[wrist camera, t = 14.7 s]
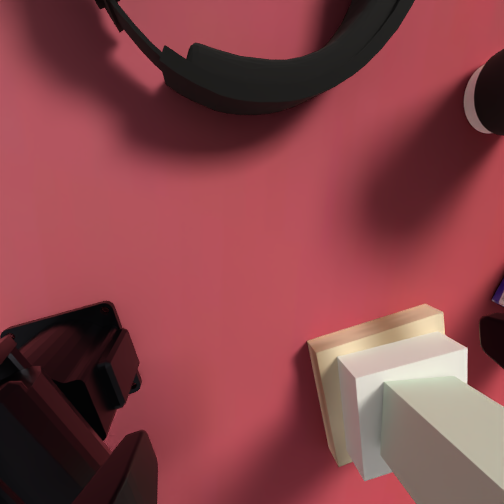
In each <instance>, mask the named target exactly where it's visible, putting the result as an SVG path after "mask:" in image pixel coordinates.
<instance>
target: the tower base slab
mask: <svg viewBox="0 0 504 504" xmlns="http://www.w3.org/2000/svg"><path fill="white" fill-rule="evenodd" d="M436 331H438V332H440V333H442V334H444V335H445V329H444V317H443V312H442V311H440V310H438V309H435V308H433V307H431V306H429V305H427V304H423V305H420V306H416V307H413V308H410V309H407V310H404V311H400V312H397V313H394V314H391V315H388V316H385V317H381V318H378V319H375V320H372V321H369V322H365V323H362V324H359V325H356V326H353V327H349V328H346V329H343V330H340V331H337V332H334V333H330V334H327V335H324V336H321V337H318V338H314V339H311V340H308V341H307V344H308V348H309V353H310V358H311V363H312V368H313V373H314V378H315V383H316V388H317V393H318V398H319V402H320V407H321V412H322V417H323V422H324V427H325V432H326V437H327V442H328V447H329V449H330V451H331V453H332V455H333V457H334V459H335V461H336V463H337V465H338V467H340V466H343V465H345V464H348V463H351V462H353V461H352V459H351V457H350V456H349V454H348V452H347V451H346V442H345V432H344V422H343V412H342V402H341V392H340V382H339V372H338V362H337V357H338V356H342V355H346V354H350V353H354V352H358V351H362V350H365V349H369V348H373V347H377V346H381V345H385V344H389V343H393V342H397V341H401V340H405V339H408V338H412V337H416V336H420V335H424V334H428V333H432V332H436Z"/></svg>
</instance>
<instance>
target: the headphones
mask: <svg viewBox="0 0 504 504" xmlns="http://www.w3.org/2000/svg"><path fill="white" fill-rule="evenodd" d="M95 1H96V3H97V5H98V7H99V9H102V8H105V9H106V10H107V12H108V14H109V15H110V17H111V19H112V20H113V22H114V24H115V25H116V27H117V29H118V30H119V32H121V31H123V30H125V31H126V33H127V34H128V35H129V36H130V38H131V39H132V40H133V41H134V42H135V44H136V45H137V46H138V47H139V49H140V50H141V51H142V52H143V53H144V54H145V55H146V56H147V57H148V58H149V59H150V60H151V61H152V62H153V63H154V65H156V66H157V67H158V68H159V69H160V70H161V71H162V72H163V76H164V80H165V84H166V85H167V86H169V87H170V88H172V89H173V90H175V91H176V92H178V93H179V94H181V95H183V96H185V97H186V98H188V99H190V100H192V101H194V102H196V103H199V104H201V105H203V106H206V107H208V108H210V109H213V110H216V111H220V112H224V113H229V114H237V115H259V114H269V113H275V112H279V111H282V110H285V109H288V108H291V107H294V106H296V105H298V104H301V103H303V102H305V101H307V100H309V99H311V98H313V97H315V96H317V95H319V94H321V93H323V92H325V91H327V90H329V89H331V88H333V87H335V86H337V85H338V84H340V83H341V82H343V81H345V80H346V79H348V78H349V77H351V76H352V75H354V74H355V73H356V72H358V71H359V70H360V69H361V68H362V67H364V66H365V65H366V64H367V63H368V62H369V61H370V60H371V59H372V58H373V57H374V56H375V55H376V54H377V53H378V52H379V51H380V50H381V49H382V48H383V46H384V45H385V44H386V43H387V41H388V40H389V39H390V38H391V36H392V35H393V34H394V33H395V32H396V30H397V29H398V28H399V26H400V24H401V23H402V21H403V19H404V18H405V16H406V15H407V13H408V11H409V10H410V8H411V6H412V5H413V3H414V0H352V2H351V5H350V7H349V9H348V11H347V13H346V15H345V18H344V20H343V22H342V24H341V25H340V27H339V28H338V30H337V31H336V33H335V34H334V36H333V37H332V39H331V40H330V41H329V42H328V43H327V44H326V46H325V47H323V48H322V49H320V50H318V51H316V52H313V53H311V54H308V55H305V56H303V57H298V58H293V59H288V60H269V59H261V58H253V57H244V56H238V55H235V54H231V53H228V52H224V51H221V50H217V49H214V48H211V47H208V46H205V45H203V44H200V43H194V44H193V45H191V47H190V48H189V51H188V55H187V58H186V59H185V58H183V57H182V56H180V55H179V54H177V53H176V52H174V51H173V50H171V49H170V48H169V47H167V46H166V45H165V46H164V48H163V51H162V52H161V51H160V50H159V49H158V48H157V47H156V46H155V45H153V44H152V43H151V42H150V41H149V40H148V38H147V37H146V36H145V35H144V34H143V33H142V32H141V31H140V30H139V29H138V27H137V26H136V25H135V24H134V23H133V22H132V21H131V19H130V18H129V17H128V16H127V14H126V13H125V12H124V11H123V10H122V8H121V7H120V6H119V5H118V3H117V2H118V1H120V0H95Z"/></svg>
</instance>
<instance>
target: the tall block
mask: <svg viewBox="0 0 504 504" xmlns="http://www.w3.org/2000/svg"><path fill="white" fill-rule="evenodd" d="M380 455H381V457H382V458H383V459H384V461H385V462H386V463H387V465H388V466H389V467H390V469H391V470H392V472H393V473H394V474H395V476H396V477H397V478H398V480H399V481H400V482H401V484H402V485H403V486H404V488H405V489H406V490H407V492H408V493H409V494H410V496H411V497H412V499H413V500H414V501H415V503H416V504H504V407H503V406H501V405H500V404H498V403H497V402H495V401H493V400H492V399H490V398H489V397H487V396H485V395H484V394H482V393H481V392H479V391H477V390H476V389H474V388H473V387H471V386H469V385H468V384H466V383H465V382H463V381H461V380H460V379H458V378H457V377H455V376H447V377H435V378H423V379H410V380H398V381H386V382H384V390H383V409H382V429H381V448H380Z"/></svg>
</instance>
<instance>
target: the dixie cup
mask: <svg viewBox="0 0 504 504" xmlns="http://www.w3.org/2000/svg"><path fill="white" fill-rule="evenodd" d="M464 110H465V114H466V117H467V119H468V121H469V123H470V124H471V125H472V126H473V127H474V128H475V129H476V130H477V131H479V132H482V133H487V134H491V133H494V134H497V135H504V49H503V50H501V51H500V52H498V53H496V54H495V55H494V56H492V57H491V58H490V59H489V60H488V61H487V62H486V64H484V65H482V66H481V67H480V68H478V69H477V70H476V71H475V72H474V74H473V75H472V76H471V78H470V80H469V82H468V84H467V86H466V90H465V94H464Z"/></svg>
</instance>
